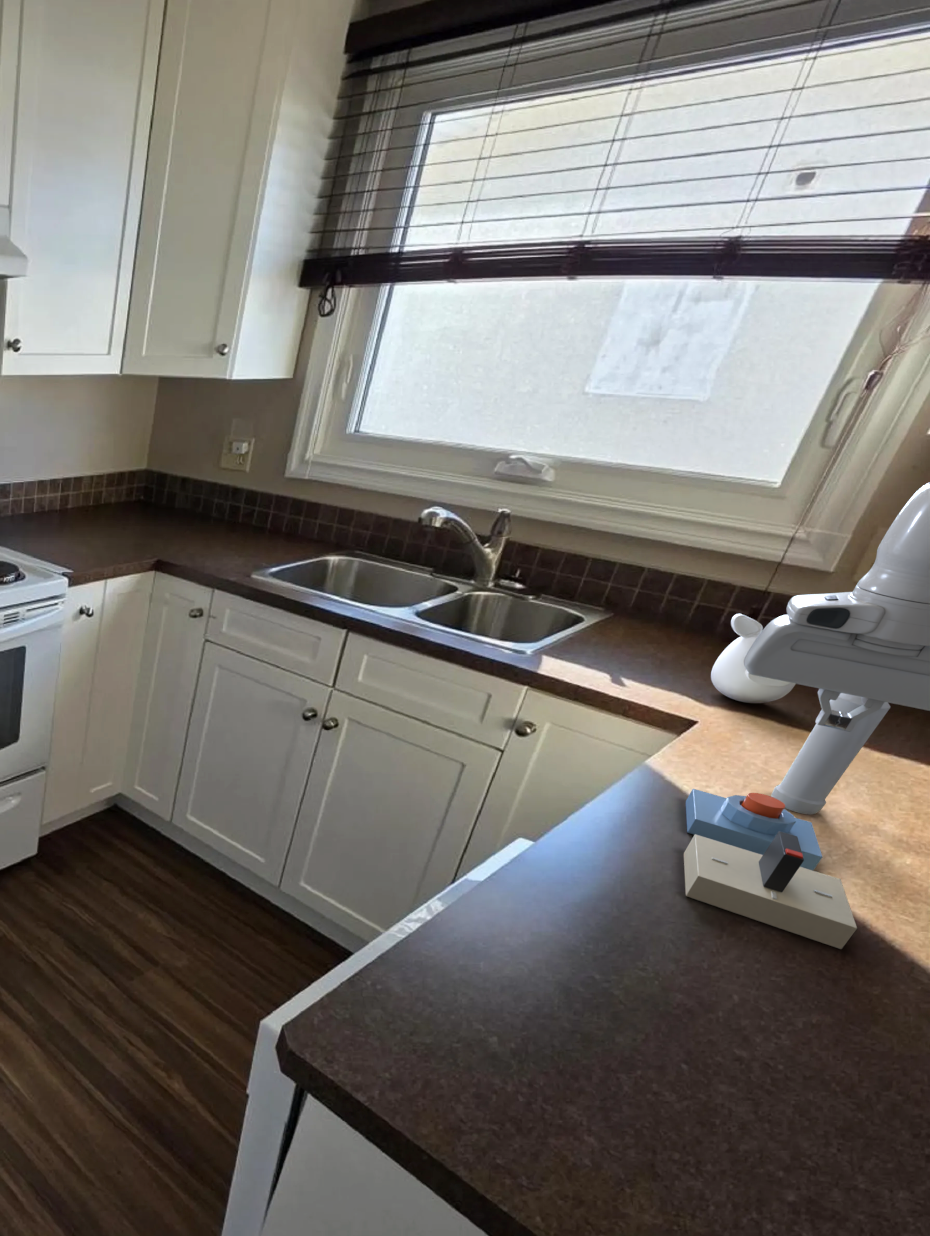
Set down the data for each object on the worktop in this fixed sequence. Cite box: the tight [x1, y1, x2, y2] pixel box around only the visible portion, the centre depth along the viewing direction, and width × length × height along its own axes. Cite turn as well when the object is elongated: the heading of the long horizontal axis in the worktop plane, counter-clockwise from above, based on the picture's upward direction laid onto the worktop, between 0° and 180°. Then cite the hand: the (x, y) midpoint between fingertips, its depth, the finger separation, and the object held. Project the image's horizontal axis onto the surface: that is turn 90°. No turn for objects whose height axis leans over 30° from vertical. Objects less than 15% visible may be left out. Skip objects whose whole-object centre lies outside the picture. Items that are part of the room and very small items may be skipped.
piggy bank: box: [710, 613, 796, 704], centre depth 140 cm, size 12×12×15 cm
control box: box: [683, 834, 858, 950], centre depth 92 cm, size 13×11×3 cm
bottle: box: [770, 693, 891, 815], centre depth 106 cm, size 5×5×25 cm
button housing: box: [685, 788, 823, 871], centre depth 104 cm, size 12×10×4 cm
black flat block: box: [759, 831, 804, 892], centre depth 90 cm, size 6×2×5 cm, turn 141°
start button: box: [741, 792, 786, 819], centre depth 103 cm, size 4×4×2 cm
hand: (832, 726), depth 97 cm, fingers closed
